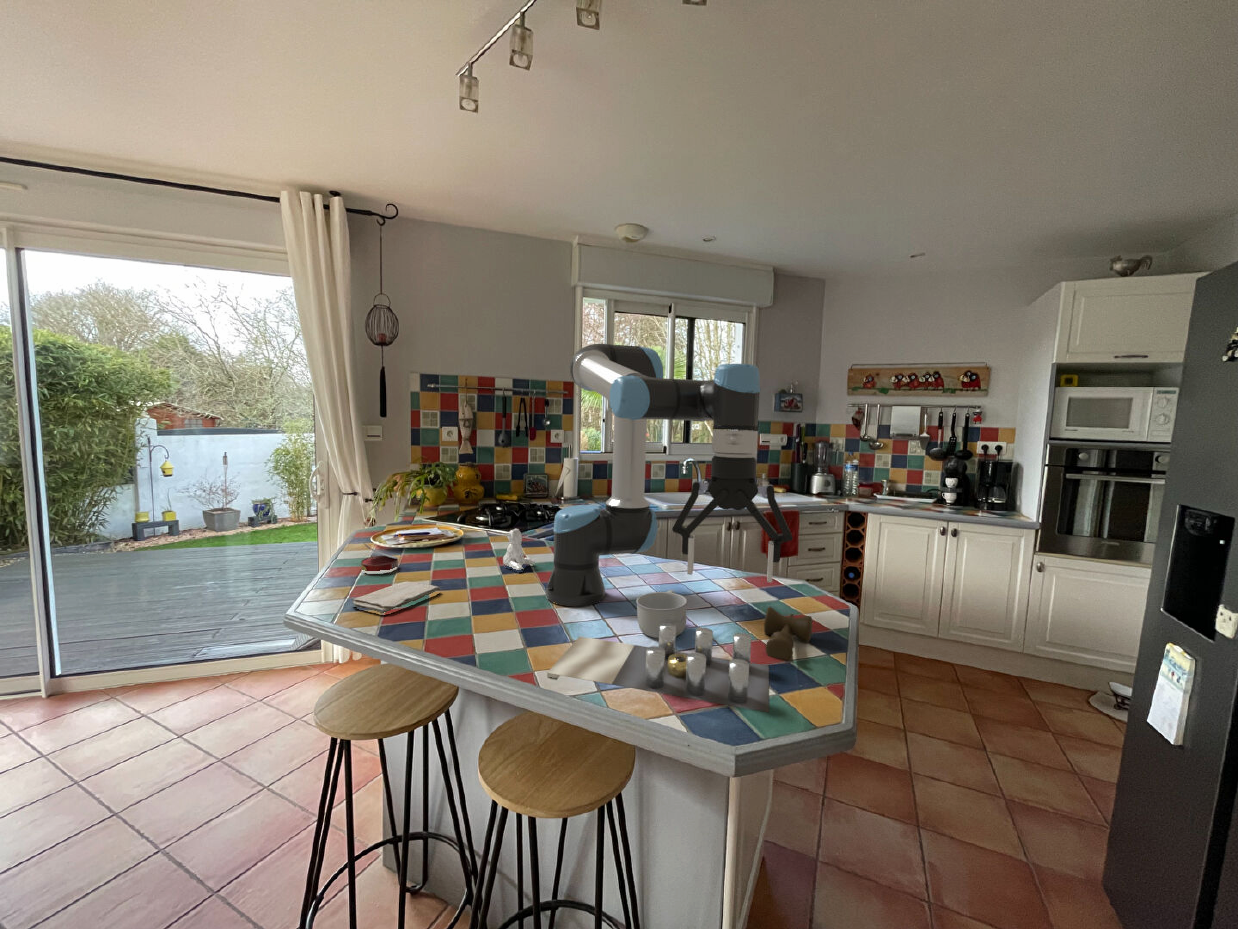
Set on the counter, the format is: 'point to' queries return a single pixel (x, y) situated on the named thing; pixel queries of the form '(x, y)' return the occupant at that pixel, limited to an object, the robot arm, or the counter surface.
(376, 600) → the washcloth
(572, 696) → the counter surface
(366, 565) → the red and clear bowl
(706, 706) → the counter surface
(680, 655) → the brass knob
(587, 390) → the robot arm
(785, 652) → the kendama
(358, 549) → the counter surface
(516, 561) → the sitting furry creature
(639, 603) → the teacup
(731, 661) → the steel spacers
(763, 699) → the board
